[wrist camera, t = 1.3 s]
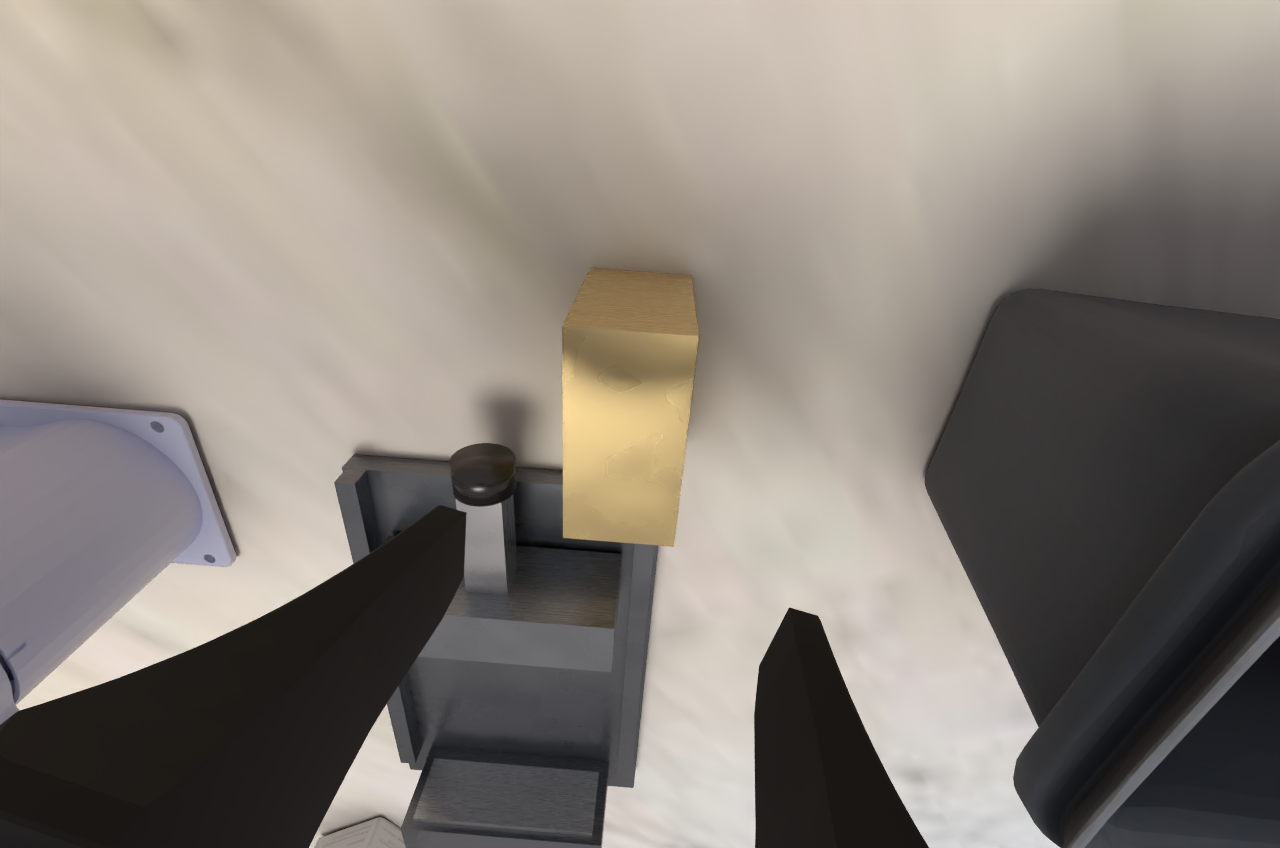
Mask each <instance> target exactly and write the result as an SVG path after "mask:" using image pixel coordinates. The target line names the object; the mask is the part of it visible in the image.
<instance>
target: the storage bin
mask: <svg viewBox="0 0 1280 848" xmlns="http://www.w3.org/2000/svg"><path fill="white" fill-rule="evenodd" d="M925 486H926V489H927V492H928V495H929V497H930V499H931V501H932V503H933V505H934V507H935V509H936V511H937V513H938V516H939V518H940V520H941V522H942V524H943V526H944V528H945V530H946V532H947V535H948V537H949V539H950V541H951V543H952V545H953V547H954V549H955V551H956V553H957V555H958V557H959V559H960V561H961V563H962V566H963V568H964V570H965V572H966V574H967V576H968V578H969V580H970V582H971V584H972V586H973V588H974V590H975V593H976V595H977V597H978V599H979V601H980V603H981V605H982V607H983V609H984V611H985V613H986V615H987V618H988V620H989V622H990V624H991V626H992V628H993V630H994V632H995V634H996V636H997V639H998V641H999V643H1000V645H1001V647H1002V649H1003V651H1004V653H1005V656H1006V658H1007V660H1008V662H1009V664H1010V666H1011V668H1012V671H1013V673H1014V675H1015V677H1016V679H1017V681H1018V684H1019V686H1020V688H1021V690H1022V692H1023V694H1024V697H1025V699H1026V701H1027V703H1028V705H1029V707H1030V710H1031V712H1032V714H1033V716H1034V718H1035V721H1036V723H1037V725H1038V727H1039V728H1038V729H1037V731H1036V732H1035V733H1034V735H1033V736H1032V737H1031V739H1030V740H1029V742H1028V743H1027V744H1026V746H1025V747H1024V749H1023V750H1022V752H1021V754H1020V755H1019V757H1018V759H1017V761H1016V766H1015V771H1014V777H1013V779H1014V786H1015V789H1016V791H1017V794H1018V795H1019V797H1020V799H1021V801H1022V802H1023V804H1024V806H1025V808H1026V809H1027V811H1028V813H1029V814H1030V816H1031V818H1032V820H1033V821H1034V823H1035V824H1036V826H1037V827H1038V828H1039V829H1040V830H1041V832H1042V833H1043V834H1044V835H1045V836H1046V837H1048V838H1049V839H1050V840H1051V841H1052V842H1054V843H1055V844H1056V845H1058V846H1059V847H1061V848H1280V319H1273V318H1264V317H1256V316H1247V315H1239V314H1230V313H1222V312H1214V311H1205V310H1197V309H1189V308H1180V307H1172V306H1164V305H1156V304H1148V303H1140V302H1133V301H1125V300H1117V299H1110V298H1102V297H1094V296H1086V295H1079V294H1071V293H1064V292H1057V291H1051V290H1044V289H1026V290H1021V291H1018V292H1016V293H1014V294H1012V295H1011V296H1009V297H1007V298H1006V299H1004V300H1003V301H1002V302H1001V304H1000V305H999V306H998V307H997V309H996V311H995V312H994V314H993V316H992V318H991V321H990V323H989V326H988V328H987V331H986V333H985V335H984V338H983V340H982V343H981V345H980V348H979V350H978V352H977V355H976V357H975V360H974V362H973V365H972V367H971V369H970V372H969V374H968V377H967V379H966V381H965V384H964V386H963V389H962V391H961V393H960V396H959V398H958V400H957V403H956V405H955V408H954V410H953V412H952V415H951V417H950V419H949V422H948V424H947V426H946V429H945V431H944V433H943V435H942V438H941V440H940V442H939V445H938V447H937V449H936V451H935V454H934V456H933V458H932V460H931V463H930V465H929V468H928V470H927V473H926V476H925Z"/></svg>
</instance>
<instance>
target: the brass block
mask: <svg viewBox="0 0 1280 848" xmlns="http://www.w3.org/2000/svg"><path fill="white" fill-rule="evenodd" d="M698 341H699V332H698V324H697V316H696V308H695V301H694V293H693V285H692V277H691V276H690V275H677V274H664V273H651V272H637V271H624V270H611V269H597V268H590V270H589V272H588V274H587V276H586V278H585V280H584V282H583V284H582V286H581V288H580V291H579V293H578V295H577V297H576V299H575V301H574V303H573V305H572V307H571V309H570V311H569V313H568V315H567V318H566V320H565V322H564V324H563V326H562V346H563V538H571V539H584V540H596V541H609V542H622V543H634V544H647V545H660V546H672V547H674V541H675V532H676V524H677V516H678V507H679V499H680V491H681V482H682V474H683V466H684V457H685V449H686V441H687V432H688V424H689V416H690V407H691V399H692V391H693V382H694V374H695V366H696V357H697V349H698Z"/></svg>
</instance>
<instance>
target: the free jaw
mask: <svg viewBox="0 0 1280 848" xmlns="http://www.w3.org/2000/svg"><path fill="white" fill-rule="evenodd" d="M450 472H451V481H452V489H453V495H454V497H455V498H456V499H455V500H456V508H457V510H459V511H463V512H466V513H467V514H466V538H465V562H464V577H463V579H462V581H461V583H460V585H459V587H458V589H457V591H456V593H455V595H454V598H453V600H452V601H451V603H450V605H449V607H448V609H447V611H446V613H445V615H444V617H443V619H442V620H441V622H440V623H439V625H438V627H437V628H436V630H435V631H434V633H433V634H432V636H431V637H430V639H429V640H428V642H427V643H426V645H425V646H424V648H423V649H422V651H421V653H420V654H419V656H418V657H429V658H441V659H454V660H466V661H478V662H490V663H503V664H515V665H527V666H539V667H552V668H564V669H576V670H588V671H601V672H612V662H613V652H614V643H615V633H616V623H617V614H618V604H619V594H620V578H621V562H622V554H614V553H602V552H589V551H577V550H564V549H552V548H539V547H526V546H516V534H515V516H514V497H513V493H514V492H515V490H516V472H515V456H514V454H513V452H512V451H511V450H510V449H508V448H507V447H505V446H502V445H498V444H492V443H481V444H474V445H470V446H467V447H464V448H462V449H460V450H458V451H457V452H456V453H454V454H453V455H452V457H451V459H450ZM393 537H395V536H388V537H387V539H386V540H385V542H384V543H383V544H385V543H386V542H387V541H389V540H390V539H392V538H393Z"/></svg>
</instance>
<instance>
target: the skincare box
mask: <svg viewBox="0 0 1280 848" xmlns="http://www.w3.org/2000/svg"><path fill="white" fill-rule="evenodd" d="M314 848H406V847H405V843H404V840H403V836H402V832H401V829H400V828H399V827H397V826H396V825H394V824H393V823H391V822H389V821H388V820H386V819H384V818H382V817H379V818H375V819H372V820H369V821H367V822H364V823H361V824H358V825H355V826H352V827H349V828H347V829H344V830H341V831H338V832H335V833H332V834H329V835H327V836H324V837H321V838H319V840H318V841H317V843H316V845H315V847H314Z"/></svg>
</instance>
